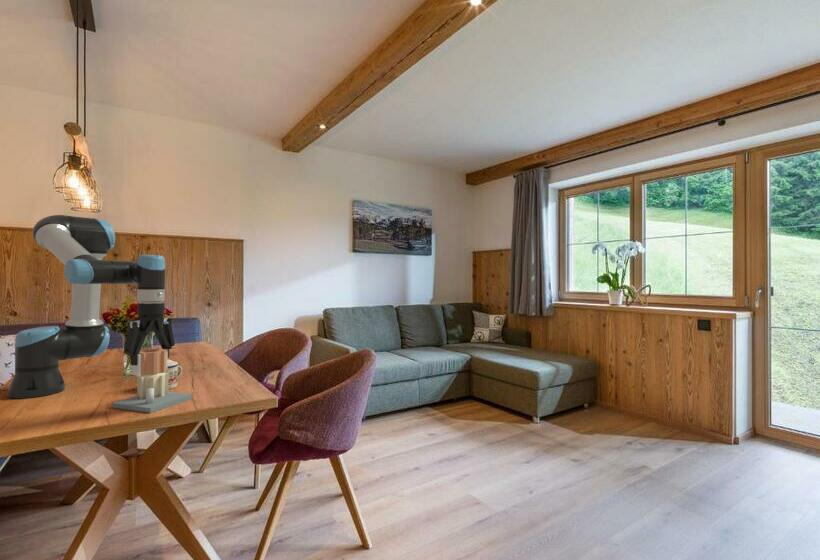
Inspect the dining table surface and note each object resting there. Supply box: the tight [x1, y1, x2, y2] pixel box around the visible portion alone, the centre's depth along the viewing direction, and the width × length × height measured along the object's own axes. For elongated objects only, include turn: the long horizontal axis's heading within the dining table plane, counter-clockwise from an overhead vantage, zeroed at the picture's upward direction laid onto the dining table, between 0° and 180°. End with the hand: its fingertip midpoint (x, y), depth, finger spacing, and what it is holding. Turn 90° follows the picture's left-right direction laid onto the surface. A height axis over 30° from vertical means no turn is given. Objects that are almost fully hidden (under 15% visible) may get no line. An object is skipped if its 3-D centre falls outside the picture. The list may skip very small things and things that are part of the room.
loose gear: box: [139, 348, 167, 376], centre depth 131 cm, size 9×9×7 cm
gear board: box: [112, 372, 193, 414], centre depth 135 cm, size 16×16×10 cm
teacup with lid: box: [166, 358, 183, 390], centre depth 155 cm, size 12×9×12 cm
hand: (150, 371), depth 131 cm, fingers closed on loose gear, 9 cm apart
